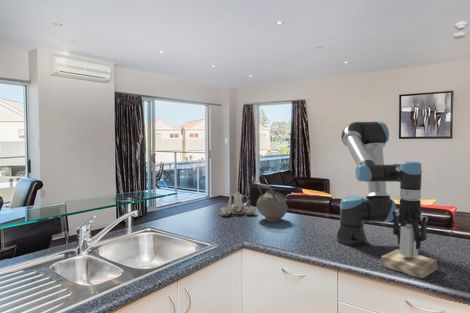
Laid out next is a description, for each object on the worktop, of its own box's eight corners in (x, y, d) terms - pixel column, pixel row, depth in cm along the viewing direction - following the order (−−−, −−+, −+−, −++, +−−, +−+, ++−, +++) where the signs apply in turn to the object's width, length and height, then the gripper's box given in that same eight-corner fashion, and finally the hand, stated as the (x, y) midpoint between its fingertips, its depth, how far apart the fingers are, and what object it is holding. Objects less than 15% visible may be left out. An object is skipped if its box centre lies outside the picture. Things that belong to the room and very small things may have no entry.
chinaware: (221, 219, 217) (221, 196, 214) (217, 212, 233) (217, 190, 230) (259, 217, 223) (260, 195, 220) (253, 210, 239) (254, 189, 236)
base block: (381, 265, 133) (381, 256, 132) (397, 257, 141) (397, 249, 141) (421, 278, 120) (422, 268, 120) (436, 269, 128) (436, 259, 128)
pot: (262, 225, 196) (262, 185, 194) (252, 217, 216) (252, 181, 214) (292, 223, 201) (292, 184, 199) (280, 215, 221) (280, 180, 219)
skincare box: (408, 252, 134) (408, 223, 133) (418, 255, 130) (418, 226, 129) (399, 254, 131) (399, 225, 130) (409, 257, 127) (409, 228, 126)
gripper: (384, 196, 134) (383, 250, 135) (430, 203, 120) (428, 263, 121) (392, 195, 138) (391, 246, 140) (437, 201, 124) (436, 258, 125)
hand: (408, 254), depth 130 cm, fingers closed on skincare box, 5 cm apart
